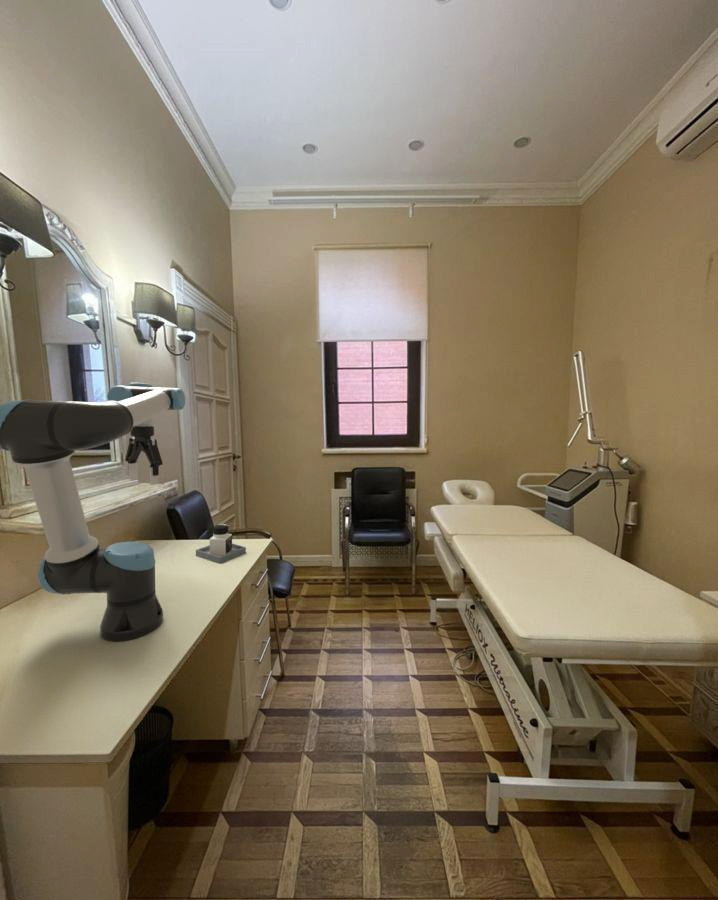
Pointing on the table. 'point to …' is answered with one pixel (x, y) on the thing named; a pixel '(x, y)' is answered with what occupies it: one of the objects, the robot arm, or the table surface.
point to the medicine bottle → (220, 540)
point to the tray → (233, 553)
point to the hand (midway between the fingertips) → (144, 482)
